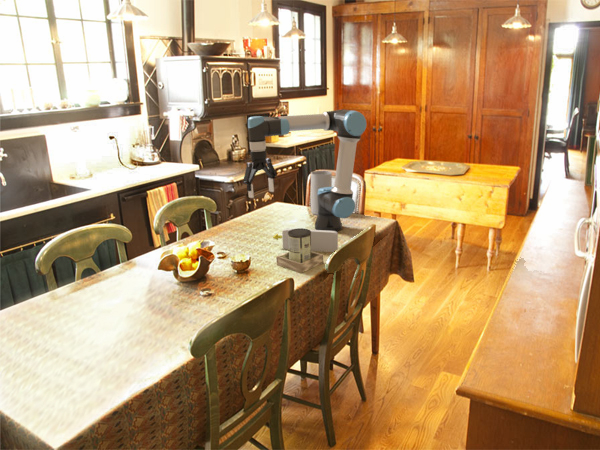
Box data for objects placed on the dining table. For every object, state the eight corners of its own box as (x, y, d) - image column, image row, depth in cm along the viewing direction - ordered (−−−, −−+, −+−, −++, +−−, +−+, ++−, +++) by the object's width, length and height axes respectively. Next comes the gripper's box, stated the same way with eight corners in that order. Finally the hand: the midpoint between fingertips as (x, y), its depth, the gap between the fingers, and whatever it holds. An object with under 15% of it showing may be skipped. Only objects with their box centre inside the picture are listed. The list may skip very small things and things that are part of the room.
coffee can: (294, 255, 227) (294, 227, 223) (315, 258, 223) (314, 229, 219) (284, 263, 218) (283, 233, 214) (305, 266, 214) (305, 236, 210)
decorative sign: (338, 249, 237) (338, 230, 234) (336, 252, 234) (336, 232, 231) (274, 246, 245) (273, 227, 242) (272, 248, 241) (271, 229, 238)
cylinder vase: (310, 215, 295) (309, 174, 287) (312, 209, 307) (312, 170, 299) (330, 215, 293) (330, 175, 285) (332, 210, 305) (332, 170, 297)
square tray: (298, 255, 231) (298, 247, 230) (323, 262, 221) (323, 254, 220) (276, 264, 220) (276, 256, 219) (301, 273, 211) (301, 264, 210)
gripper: (271, 146, 239) (274, 188, 245) (232, 153, 221) (236, 199, 228) (282, 146, 234) (285, 189, 240) (243, 154, 216) (247, 201, 223)
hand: (261, 194), depth 234 cm, fingers open, 13 cm apart
